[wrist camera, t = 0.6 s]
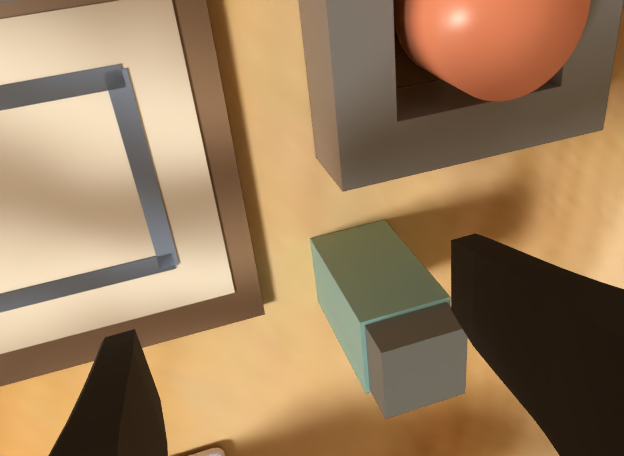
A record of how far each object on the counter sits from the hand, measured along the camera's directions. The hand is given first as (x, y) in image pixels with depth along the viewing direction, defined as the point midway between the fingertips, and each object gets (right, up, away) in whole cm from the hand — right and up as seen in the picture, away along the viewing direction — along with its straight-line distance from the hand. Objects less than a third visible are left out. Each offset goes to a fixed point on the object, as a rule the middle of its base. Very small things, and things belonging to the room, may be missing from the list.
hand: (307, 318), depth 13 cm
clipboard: (-9, +4, +6) cm, 12 cm away
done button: (+5, +9, +6) cm, 12 cm away
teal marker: (+2, +1, +12) cm, 12 cm away
